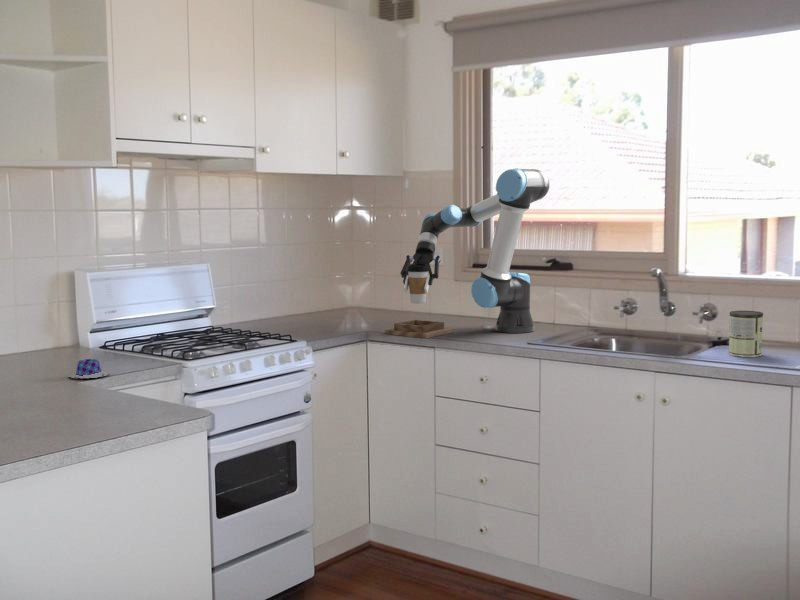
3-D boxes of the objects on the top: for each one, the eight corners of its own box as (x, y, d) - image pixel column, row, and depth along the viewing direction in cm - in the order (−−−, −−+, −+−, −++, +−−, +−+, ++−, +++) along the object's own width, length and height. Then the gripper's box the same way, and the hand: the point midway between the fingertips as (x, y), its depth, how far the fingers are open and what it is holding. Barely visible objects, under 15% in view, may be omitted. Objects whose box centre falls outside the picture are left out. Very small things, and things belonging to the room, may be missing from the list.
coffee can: (726, 351, 297) (727, 310, 296) (758, 352, 295) (760, 310, 293) (730, 357, 287) (731, 314, 286) (764, 358, 285) (765, 314, 283)
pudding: (117, 376, 267) (116, 359, 267) (81, 383, 258) (80, 365, 258) (96, 372, 275) (95, 355, 274) (60, 378, 266) (59, 361, 265)
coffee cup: (429, 301, 349) (429, 263, 347) (428, 304, 340) (428, 265, 339) (408, 301, 350) (408, 263, 348) (406, 303, 341) (406, 265, 339)
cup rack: (453, 332, 347) (453, 322, 347) (426, 338, 333) (426, 327, 332) (412, 328, 359) (412, 318, 359) (385, 333, 345) (384, 323, 344)
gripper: (452, 252, 354) (442, 297, 341) (403, 252, 360) (392, 296, 347) (449, 240, 349) (439, 285, 335) (400, 240, 355) (388, 283, 341)
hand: (415, 290), depth 341 cm, fingers closed on coffee cup, 8 cm apart
